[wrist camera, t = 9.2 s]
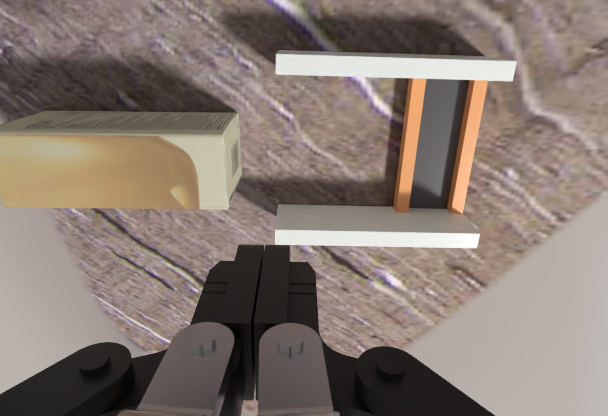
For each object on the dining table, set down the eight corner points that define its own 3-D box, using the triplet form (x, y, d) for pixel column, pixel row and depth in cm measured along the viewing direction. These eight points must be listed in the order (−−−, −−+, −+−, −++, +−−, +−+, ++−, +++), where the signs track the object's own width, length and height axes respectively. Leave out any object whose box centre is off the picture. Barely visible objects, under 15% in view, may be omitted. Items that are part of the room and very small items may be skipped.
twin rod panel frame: (278, 49, 25) (275, 53, 22) (485, 56, 26) (516, 61, 22) (277, 217, 30) (275, 244, 26) (454, 221, 30) (476, 248, 26)
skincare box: (244, 176, 29) (62, 173, 29) (241, 110, 27) (48, 108, 27) (227, 214, 23) (-2, 211, 23) (222, 133, 21) (-26, 130, 21)
